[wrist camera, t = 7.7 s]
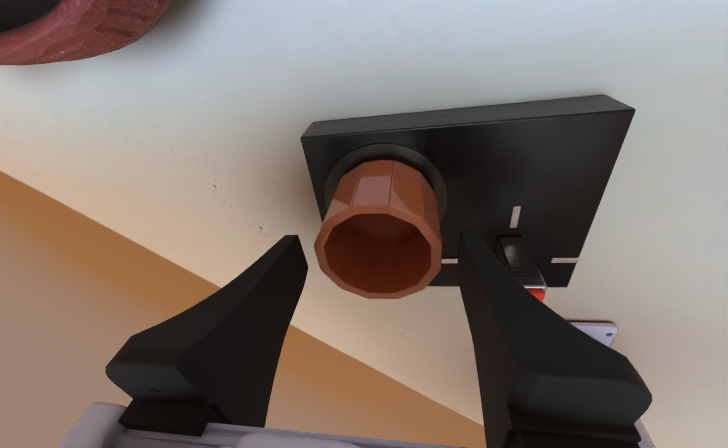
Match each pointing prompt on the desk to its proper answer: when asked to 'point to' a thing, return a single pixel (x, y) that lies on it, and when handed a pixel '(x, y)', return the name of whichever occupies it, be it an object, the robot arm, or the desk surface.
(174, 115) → the desk surface
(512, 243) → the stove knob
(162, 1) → the bowl
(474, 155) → the stove
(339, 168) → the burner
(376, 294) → the small cup
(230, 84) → the desk surface
